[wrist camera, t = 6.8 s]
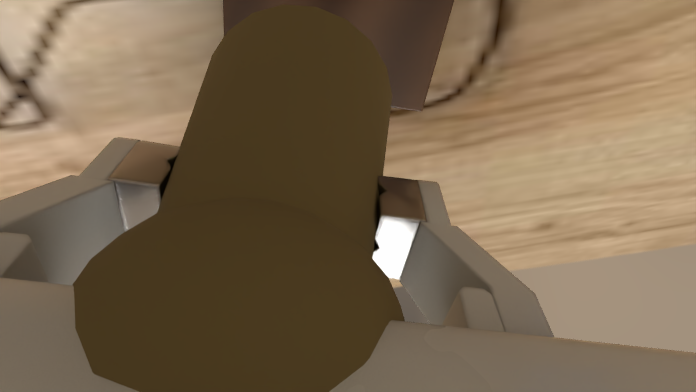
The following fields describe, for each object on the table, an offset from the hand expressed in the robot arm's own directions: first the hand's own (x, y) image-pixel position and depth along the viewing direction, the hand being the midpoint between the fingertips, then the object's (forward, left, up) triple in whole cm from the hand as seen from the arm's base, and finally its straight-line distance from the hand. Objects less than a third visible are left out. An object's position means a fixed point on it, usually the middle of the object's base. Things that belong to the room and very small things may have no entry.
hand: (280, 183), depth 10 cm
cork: (0, 0, -5) cm, 5 cm away
